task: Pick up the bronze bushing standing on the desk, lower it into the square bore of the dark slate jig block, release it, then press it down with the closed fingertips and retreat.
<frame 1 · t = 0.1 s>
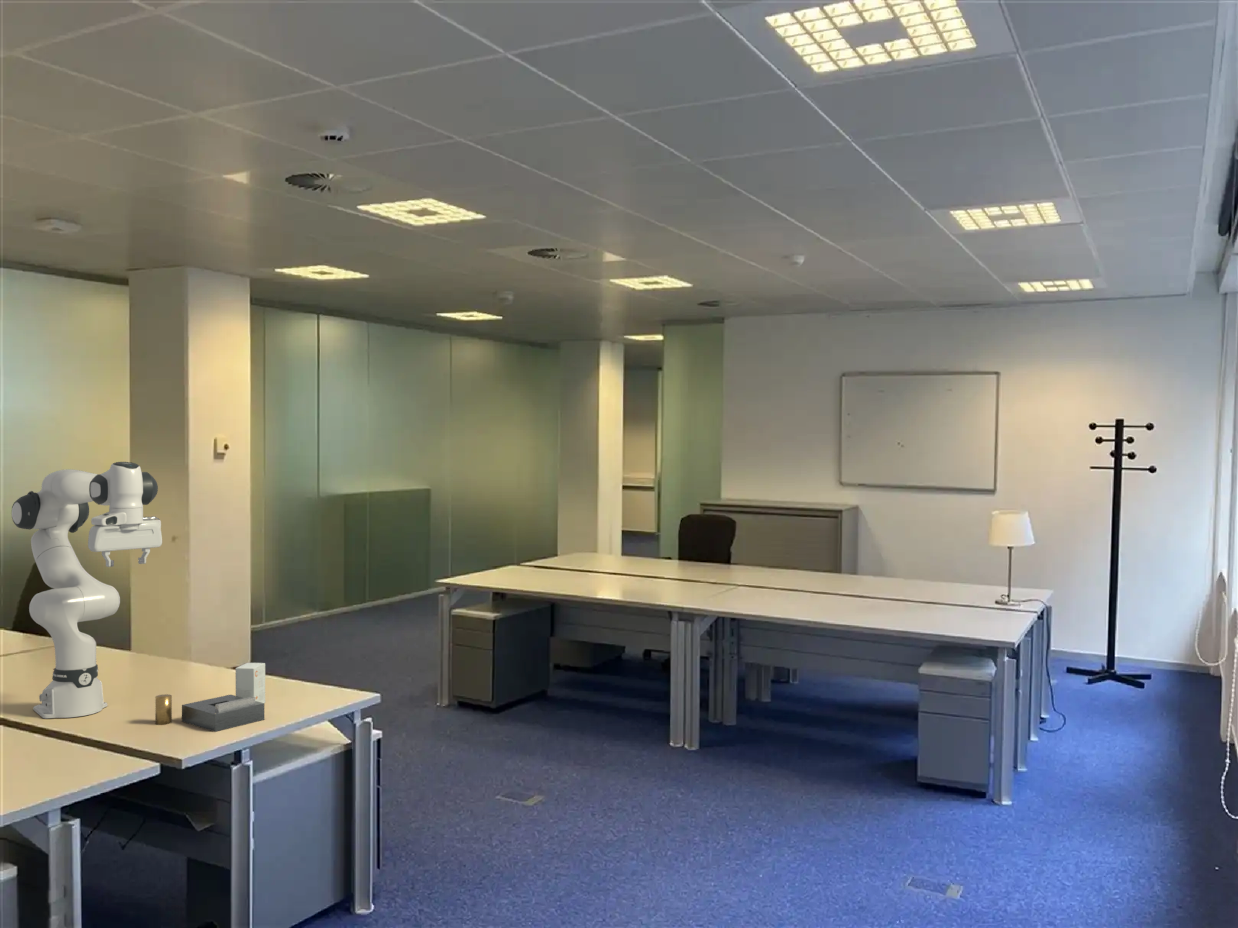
hand: (126, 565, 283), 48 cm above the table, fingers open, 8 cm apart
bushing: (163, 722, 290), on the table
jig: (223, 720, 293), on the table
small box: (250, 706, 310), on the table
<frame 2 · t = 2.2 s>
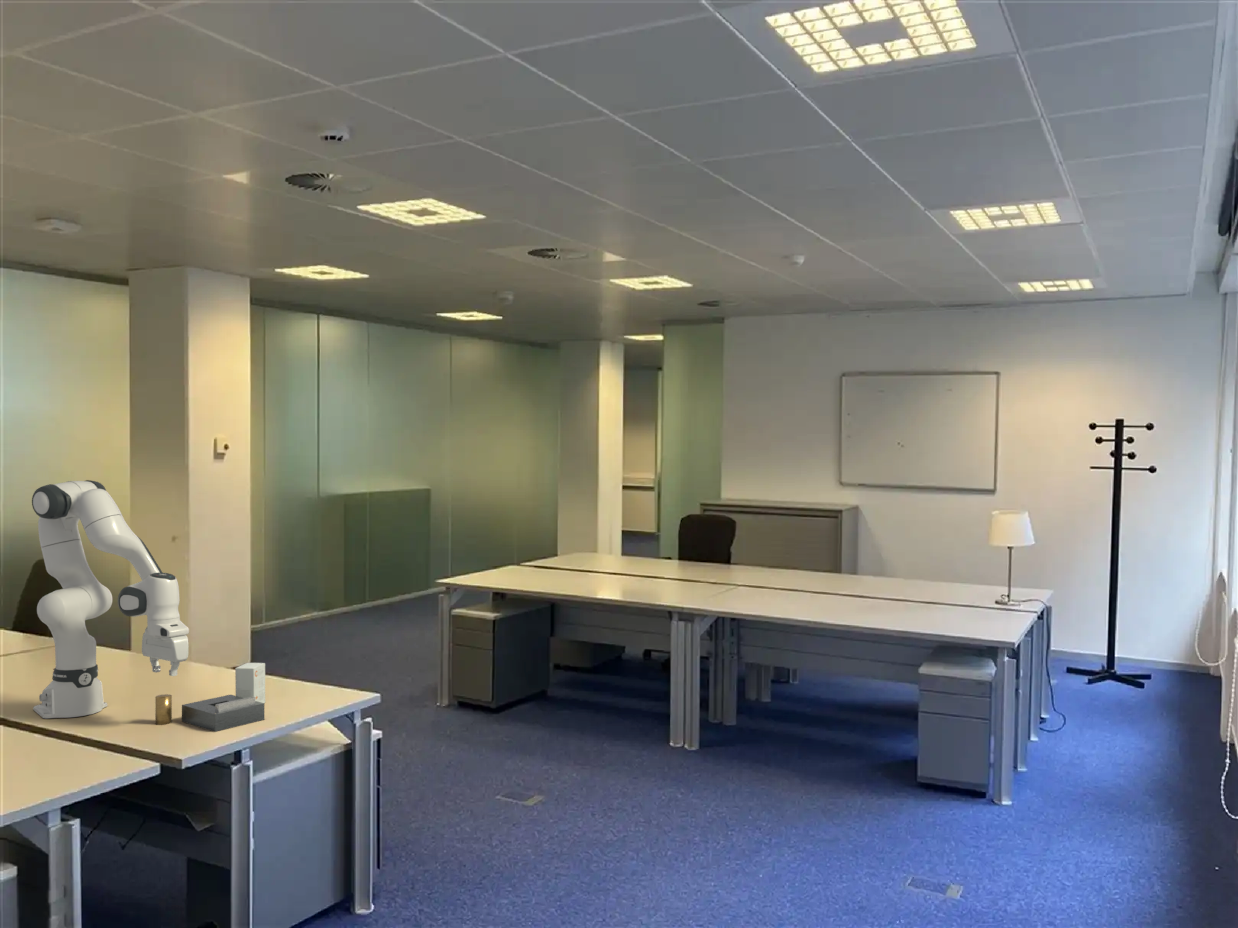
hand: (164, 673, 290), 15 cm above the table, fingers open, 8 cm apart
nothing on the table moved.
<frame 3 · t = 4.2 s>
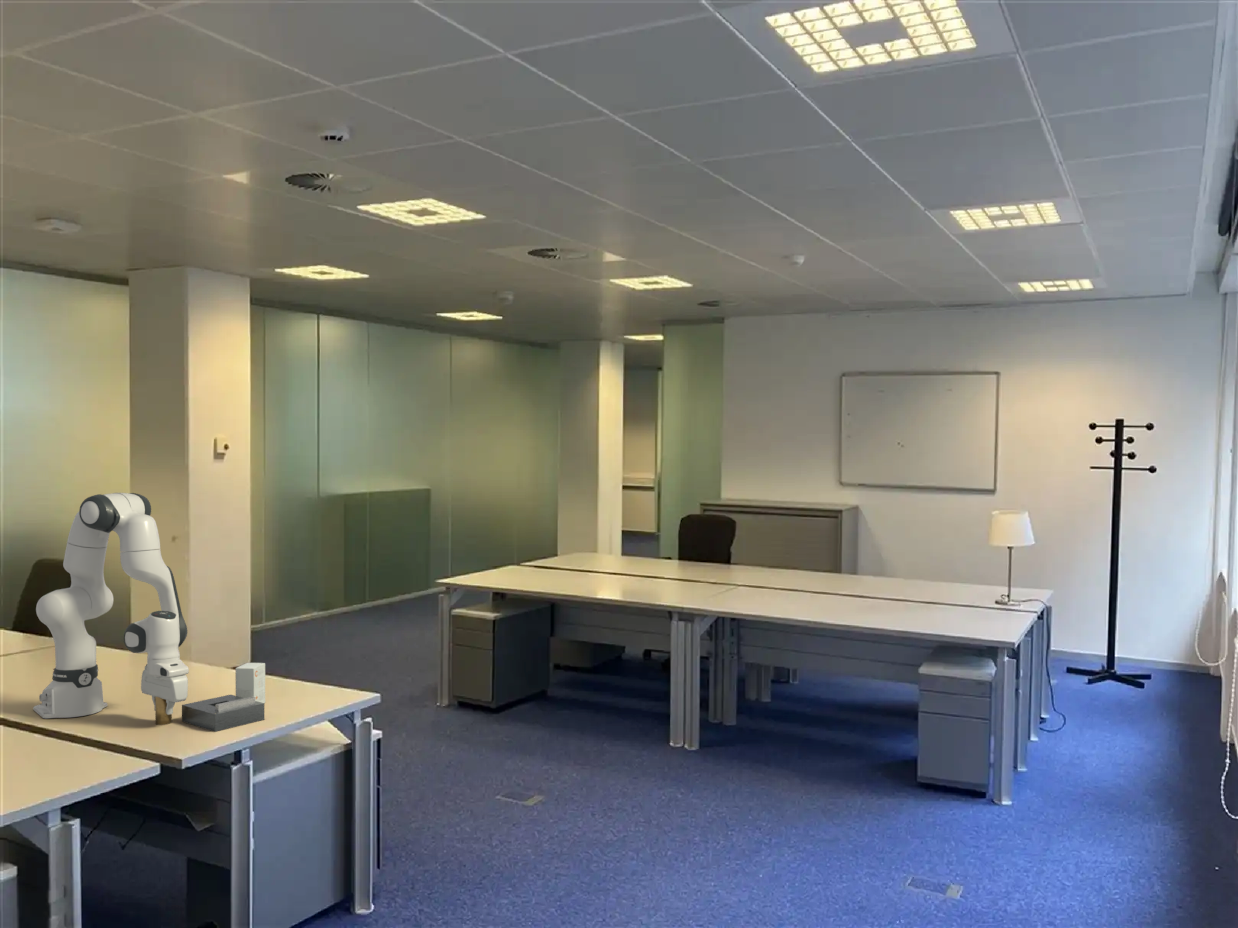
hand: (163, 712, 290), 3 cm above the table, fingers closed on bushing, 4 cm apart
bushing: (163, 722, 290), on the table, touching gripper
everything else where it was.
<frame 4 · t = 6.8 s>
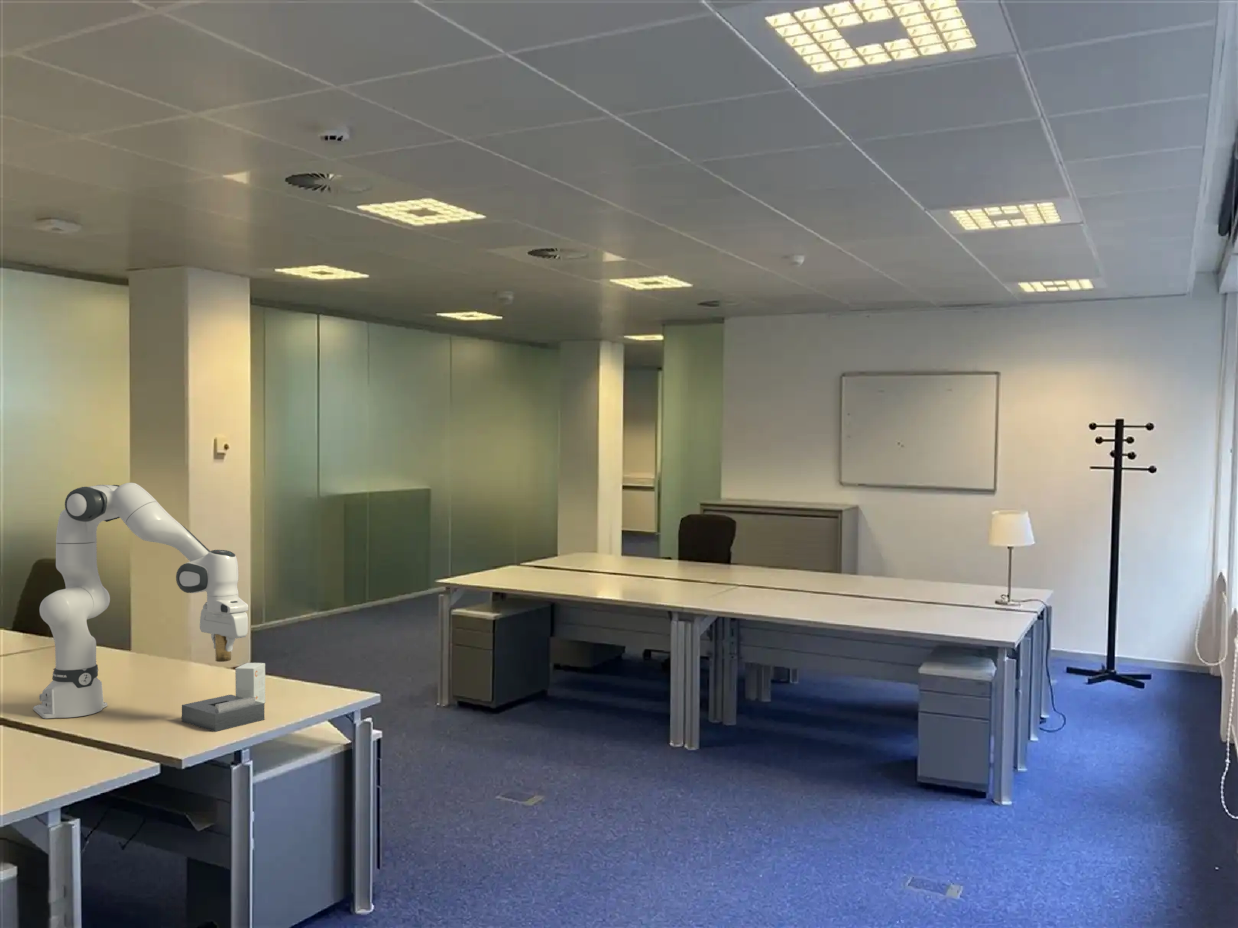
hand: (223, 649, 293), 21 cm above the table, fingers closed on bushing, 4 cm apart
bushing: (223, 660, 293), point 18 cm above the table, touching gripper
everything else where it was.
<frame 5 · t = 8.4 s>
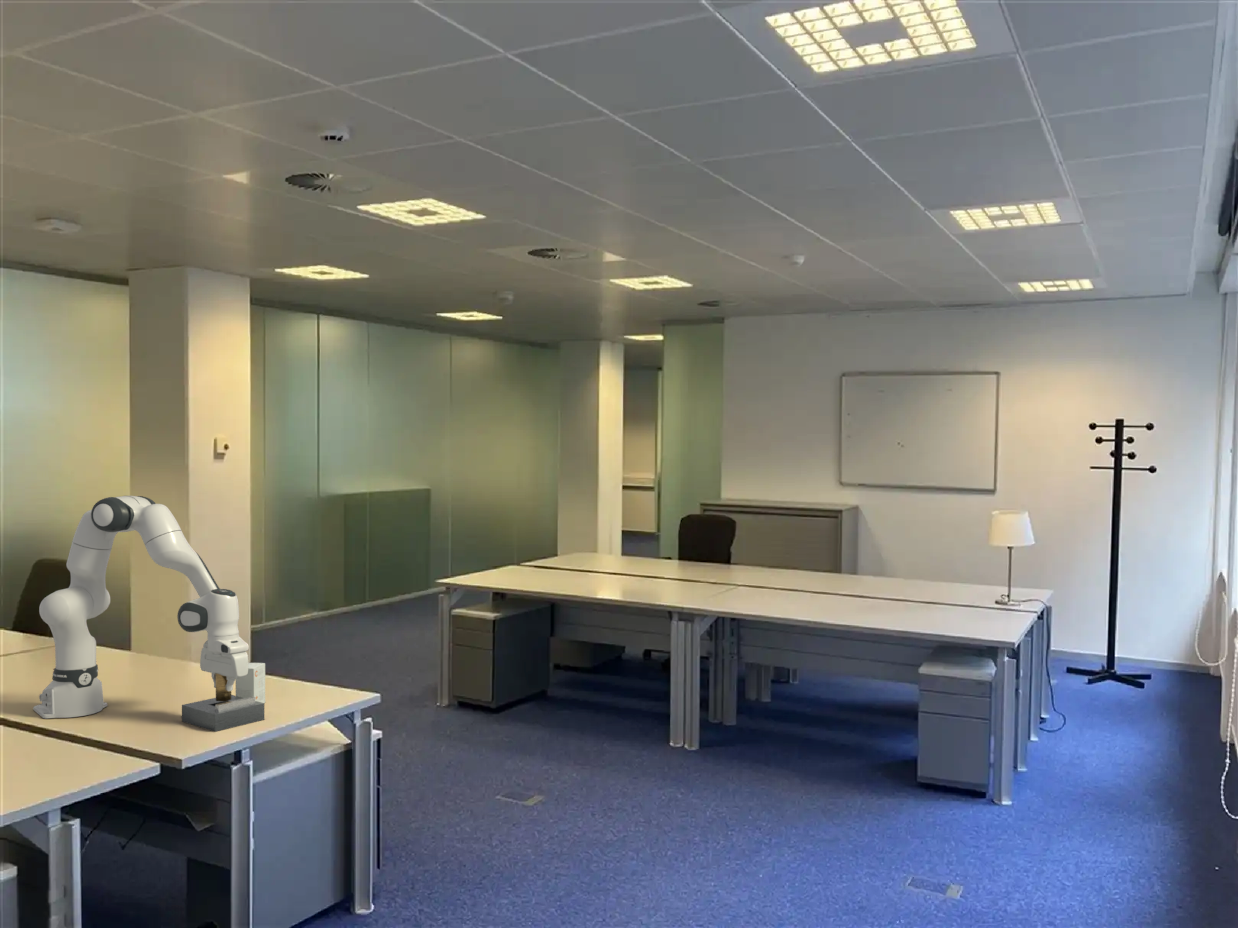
hand: (223, 689, 293), 9 cm above the table, fingers closed on bushing, 4 cm apart
bushing: (223, 699, 293), point 6 cm above the table, touching gripper
everything else where it was.
when the fingers open (6 cm above the table, at t = 9.8 s): bushing drops 3 cm, resting in jig.
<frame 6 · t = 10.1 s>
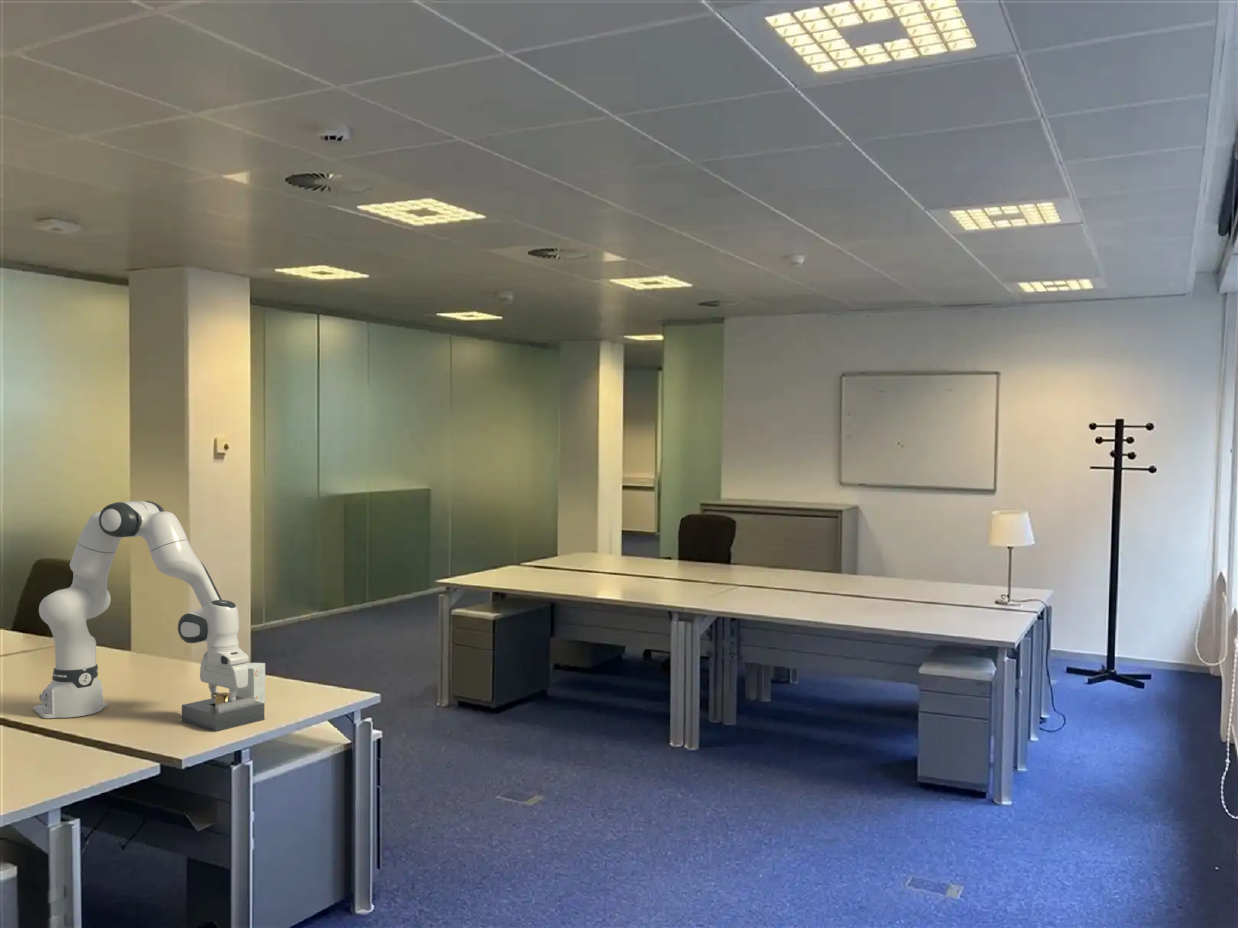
hand: (223, 700, 293), 6 cm above the table, fingers open, 7 cm apart
bushing: (223, 720, 293), resting in jig
everything else where it was.
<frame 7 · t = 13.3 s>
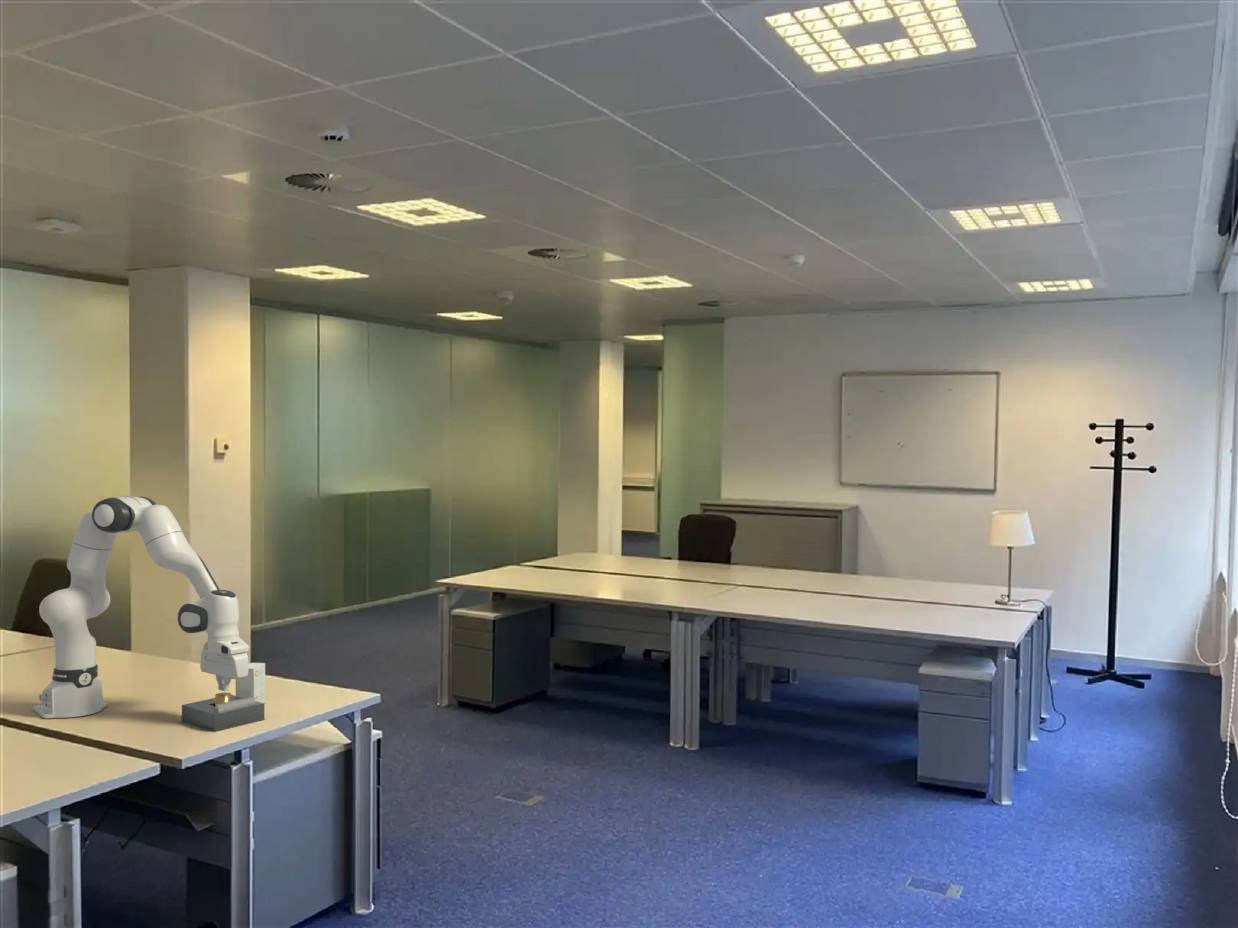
hand: (223, 690, 293), 9 cm above the table, fingers closed
nothing on the table moved.
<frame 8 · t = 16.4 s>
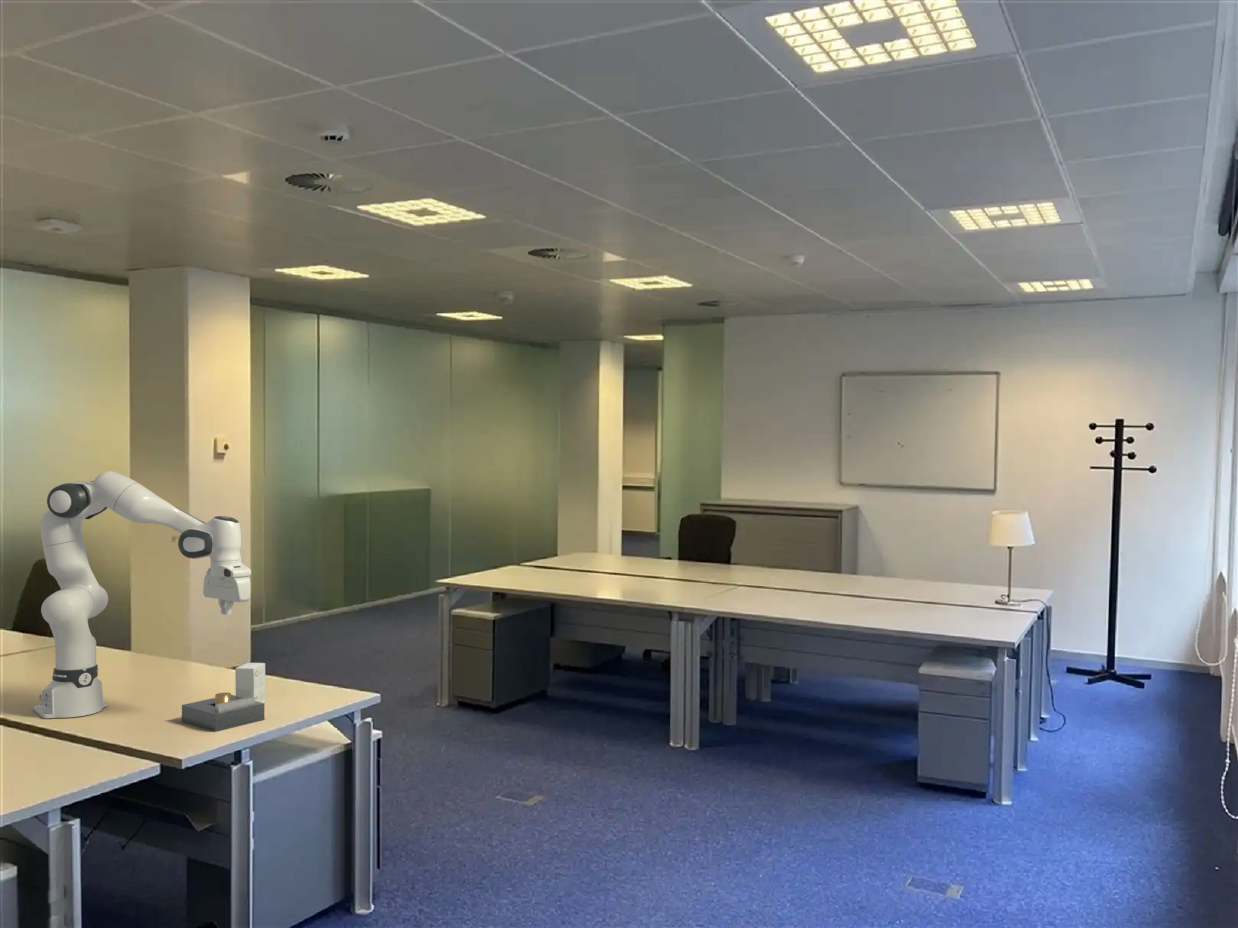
hand: (226, 614, 299), 31 cm above the table, fingers closed
nothing on the table moved.
at the end: bushing 0.1 cm off-centre on the jig, point 0.0 cm above the jig's base; bushing tilted 0°; the gripper is holding nothing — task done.
